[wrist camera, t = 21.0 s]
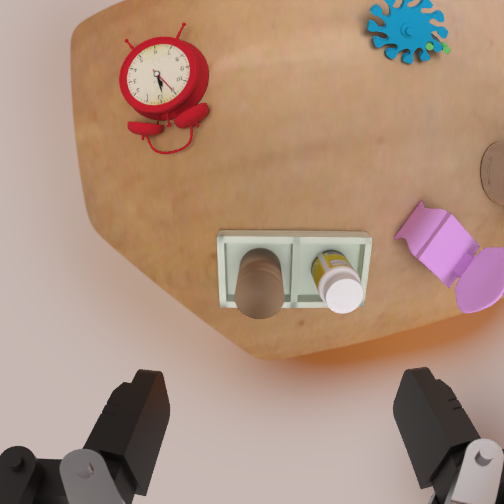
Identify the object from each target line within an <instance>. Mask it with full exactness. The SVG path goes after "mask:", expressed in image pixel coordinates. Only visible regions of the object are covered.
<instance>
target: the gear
mask: <svg viewBox="0 0 504 504" xmlns="http://www.w3.org/2000/svg"><path fill="white" fill-rule="evenodd" d="M395 1H396V0H385V2H386V3H387V4H388V6H389V15H386V16H385V15H383V14H382V9H381V8H380V6H379V5H377V4H375V5H373V6H372V7H371V8H370V11H371V13H372V14H373V15H376V16H378V17H380V18H381V19H382V20H383V21H384V22H385V25H384V26H383V27H380V26H378V25H377V24H376V22H375V21H373V20H369V21H368V24H367V29H368V30H369V31H371V32H374V31H379V32H383V33H385V34H387V35H388V37H387V38H385V39H383V38H381V37H379V36H374V37H373V42H374V44H375V46H376V47H377V48H379V47H382V46H383V45H385V44H396V45H397V46H396V47H395V48H387V49H386V50H385V52H386V55H387V56H388V57H389V58H391V59H394V58H395V57H396V55H397V53H398V52H400V51H401V50H403V49H409V51H408V52H407V53H404V54H403V55H402V59H403V61H404V62H406V63H410V64H411V63H412V62H413V53H414V51H415V50H416V49H417V48H422V50H421V51H420V52H419V57H420V59H421V60H422V61H427V60H430V56H429V54H428V53H427V51H426V49H427V50H432V49H434V51H435V52H439V51H441V50H443V52H444V53H446V54H448V53H450V48H449V47H448V45H447V44H446V43H445V42H442V43H440V40H439V39H438V38H437V37H436V36H434V35H433V34H431V32H432V31H437V32H438V34H439V35H440V36H441V37H442V38H446V36H447V34H448V31H447V30H446V28H444V27H437V26H434V25H432V24H431V23H429V21H430V19H432V18H434V19H436V20H437V21H439V22H443V21H444V16H443V13H442V12H441V11H439V10H436V11H434V12H433V13H421V9H422V8H431V7H432V6H433V4H432V3H431V2H430V1H429V0H420V2H419V3H418V4H417V5H416V6H413V7H407V4H408V3H409V2H411V1H413V0H403V1H402V4H401V5H400V7H399V8H394V7H393V4H394V3H395Z"/></svg>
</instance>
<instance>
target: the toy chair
mask: <svg viewBox="0 0 504 504" xmlns="http://www.w3.org/2000/svg"><path fill="white" fill-rule="evenodd" d="M400 238H404V239H405V240H406V241H407V243H408V246H409V249H410V251H411V253H412V254H413V255H414V256H415V257H416V258H417V259H418V260H420V261H421V262H422V263H423V264H424V265H425V266H426V267H427V268H428V269H429V270H430V272H433V273H434V274H435V275H436V276H437V277H438V278H439V279H440V280H441V281H442V282H443V283H444V284H445V285H446V286H447V287H448V288H450V286H451V285H452V284H453V283H454V281H455V280H456V279H457V277H459V280H458V283H457V285H456V287H455V291H456V300H457V305H458V307H459V309H460V310H461V312H463V313H473V312H477V311H480V310H483V309H485V308H487V307H489V306H491V305H493V304H494V303H495V302H497V301H498V300H499V299H500V298H501V296H502V295H503V293H504V248H502V247H491V248H484V249H483V250H482V251H481V252H480V253H478V254H477V255H476V256H475V257H473V256H474V254H475V253H476V251H477V250H478V249H479V247H480V246H479V245H478V244H477V242H476V241H475V240H474V239H473V238H472V237H471V236H470V234H469V233H468V232H467V231H466V230H465V229H464V228H463V226H462V225H461V224H460V223H459V222H458V220H457V219H456V218H455V217H454V216H453V215H452V214H451V213H448V212H447V211H445V210H443V209H428V208H425V207H424V204H423V202H422V201H421V202H420V203H419V204H418V206H417V207H416V209H415V210H414V211H413V213H412V214H411V215H410V217H409V218H408V219H407V221H406V222H405V224H404V225H403V226H402V228H401V229H400V230H399V232H398V233H397V234H396V235H395V237H394V239H395V240H397V239H400Z"/></svg>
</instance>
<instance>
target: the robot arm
mask: <svg viewBox="0 0 504 504" xmlns="http://www.w3.org/2000/svg"><path fill="white" fill-rule="evenodd" d="M481 180H482V184H483V188H484V190H485V192H486V194H487V196H488V197H489V198H490V199H491V200H492V201H493V202H495V203H497V204H500V205H503V206H504V142H496V143H493V144H492V145H491V146H489V148H488V149H487V150H486V152H485V154H484V156H483V160H482V164H481ZM393 413H394V418H395V421H396V423H397V426H398V428H399V431H400V434H401V436H402V439H403V441H404V444H405V447H406V449H407V452H408V455H409V457H410V460H411V462H412V465H413V468H414V471H415V474H416V477H417V480H418V482H419V485H420V488H421V489H423V488H427V487H431V486H433V488H434V491H435V492H434V493H433V494H432V496H431V499H430V501H429V503H428V504H504V449H501V448H500V446H499V445H498V444H497V443H495V442H494V441H492V440H489V439H481V438H480V436H479V434H478V432H477V431H476V429H475V427H474V426H473V424H472V422H471V420H470V419H469V417H468V415H467V414H466V412H465V411H464V409H463V408H462V406H461V404H460V403H459V401H458V400H457V397H456V396H455V394H454V393H453V391H452V389H451V388H450V387H449V386H448V385H446V384H445V383H444V382H443V381H441V380H440V379H438V380H436V379H435V378H434V376H433V375H432V373H431V371H430V370H429V368H427V367H422V368H414V369H408V370H406V371H405V372H404V374H403V377H402V380H401V383H400V386H399V389H398V392H397V395H396V398H395V400H394V405H393ZM169 417H170V403H169V399H168V395H167V390H166V386H165V381H164V377H163V374H162V372H161V371H151V370H143V369H139V370H138V371H137V373H136V375H135V377H134V379H133V381H132V383H127V382H123V383H122V384H121V385H120V386H119V387H117V388H116V389H115V390H114V391H113V392H112V394H111V396H110V398H109V399H108V401H107V405H105V407H104V409H103V411H102V414H100V416H99V418H98V420H97V422H96V424H95V426H94V428H93V430H92V432H91V434H90V436H89V438H88V440H87V441H86V443H85V445H84V447H83V448H82V449H78V450H74V451H72V452H70V453H68V454H67V455H66V456H65V457H64V458H63V459H60V460H58V459H37V458H36V457H35V456H34V454H33V453H32V452H31V451H30V450H29V449H28V448H25V447H22V446H14V447H10V448H8V449H6V450H5V451H4V452H3V453H2V454H1V455H0V504H132V500H133V497H134V494H138V495H143V496H146V494H147V490H148V487H149V484H150V480H151V477H152V474H153V470H154V467H155V464H156V460H157V457H158V454H159V451H160V447H161V444H162V441H163V438H164V434H165V431H166V428H167V425H168V421H169Z"/></svg>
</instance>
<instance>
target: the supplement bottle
mask: <svg viewBox="0 0 504 504" xmlns="http://www.w3.org/2000/svg"><path fill="white" fill-rule="evenodd" d="M311 274H312V277H313V280H314V282H315V285H316V288H317V290H318V293H319V296H320V297H321V299H322V300H323V301H324V302H325V303H326V304H327V306H328V307H329V308H330V309H331V310H332V311H333V312H336V313H340V314H345V313H349V312H351V311H353V310H355V309H356V308H357V307H358V306H359V305H360V303H361V301H362V298H363V289H362V287H361V282H360V278H359V276H358V274H357V272H356V271H355V270H354V268H353V267H352V265H351V264H350V263H349V261H348V260H347V259H346V257H345V256H344V255H343V254H342V253H341V252H339V251H337V250H325V251H322V252H321V253H319V254H318V255H317V256H316V257H315V258H314V260H313V261H312V264H311Z"/></svg>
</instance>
